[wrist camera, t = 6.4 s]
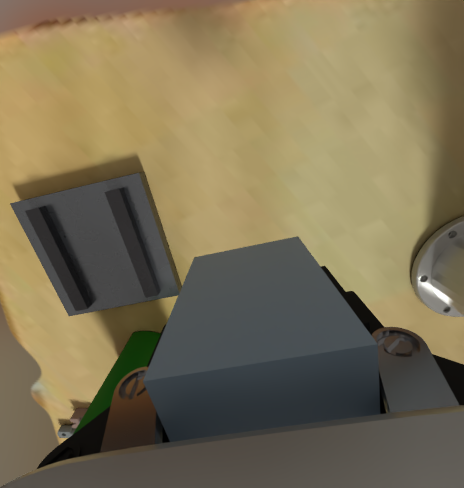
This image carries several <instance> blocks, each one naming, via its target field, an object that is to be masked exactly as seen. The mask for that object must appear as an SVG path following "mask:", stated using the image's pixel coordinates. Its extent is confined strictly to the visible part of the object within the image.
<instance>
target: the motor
mask: <svg viewBox="0 0 464 488" xmlns="http://www.w3.org/2000/svg"><path fill="white" fill-rule="evenodd" d="M159 337H160V333H156V332H151V331H139V332H134V333H133V334H132V336H131V337H130V339H129V341H128V342H127V344H126V346H125V347H124V349H123V351H122V352H121V354H120V356H119V357H118V359H117V361H116V363H115V364H114V366H113V368H112V369H111V371H110V373H109V374H108V376H107V378H106V379H105V381H104V383H103V384H102V386H101V388H100V389H99V391H98V393H97V394H96V396H95V398H94V399H93V401H92V403H91V405H90V406H89V408H88V410H87V411H86V413H85V415H84V416H83V418H82V420H81V421H80V423H79V425H78V426H77V428H76V430H75V431H74V433H76V432H77V431H78V430H80V429H81V428H82V427H84V426H85V425H86V424H87V423H89V422H90V421H91V420H93V419H94V418H95V417H96V416H98V415H99V414H100V413H102V412H103V411H104V410H106V409H107V408H108V407H109V406H111V403H112V398H113V394H114V391H115V388H116V386H117V385H118V383H119V382H120V380H122V379H123V378H124V377H125V376H126V375H127V374H128V373H130V372H131V371H133V370H135V369H138V368H141V367H147V365H148V362H149V360H150V358H151V355H152V353H153V351H154V348H155V346H156V344H157V341H158V339H159ZM74 433H73V434H74Z"/></svg>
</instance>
